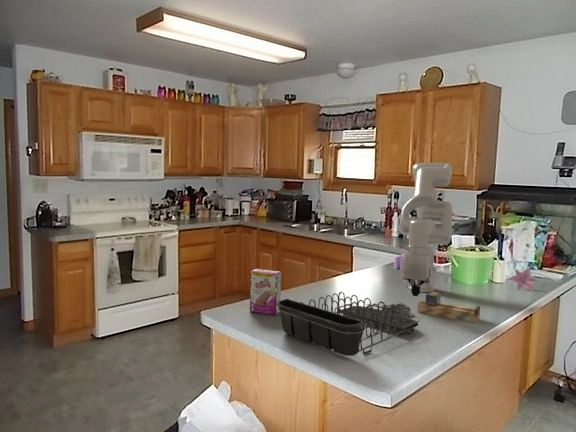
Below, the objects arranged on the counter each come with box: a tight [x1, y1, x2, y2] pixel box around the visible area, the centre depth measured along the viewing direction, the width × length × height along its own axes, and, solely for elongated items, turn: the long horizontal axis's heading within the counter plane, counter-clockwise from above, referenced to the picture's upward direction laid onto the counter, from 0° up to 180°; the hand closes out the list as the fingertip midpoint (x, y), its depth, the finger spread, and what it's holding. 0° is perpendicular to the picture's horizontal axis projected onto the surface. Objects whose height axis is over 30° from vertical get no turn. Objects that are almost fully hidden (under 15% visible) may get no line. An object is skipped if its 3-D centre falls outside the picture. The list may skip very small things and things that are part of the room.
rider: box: [425, 291, 442, 306], centre depth 178 cm, size 4×6×5 cm
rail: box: [417, 299, 481, 324], centre depth 175 cm, size 22×6×5 cm, turn 58°
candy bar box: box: [249, 268, 282, 316], centre depth 174 cm, size 11×5×16 cm, turn 71°
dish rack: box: [277, 291, 420, 357], centre depth 154 cm, size 34×44×12 cm
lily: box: [508, 267, 538, 293], centre depth 219 cm, size 12×12×10 cm
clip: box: [393, 253, 406, 271], centre depth 263 cm, size 20×12×7 cm, turn 129°
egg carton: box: [380, 302, 413, 317], centre depth 176 cm, size 11×8×4 cm
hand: (415, 295), depth 182 cm, fingers closed
